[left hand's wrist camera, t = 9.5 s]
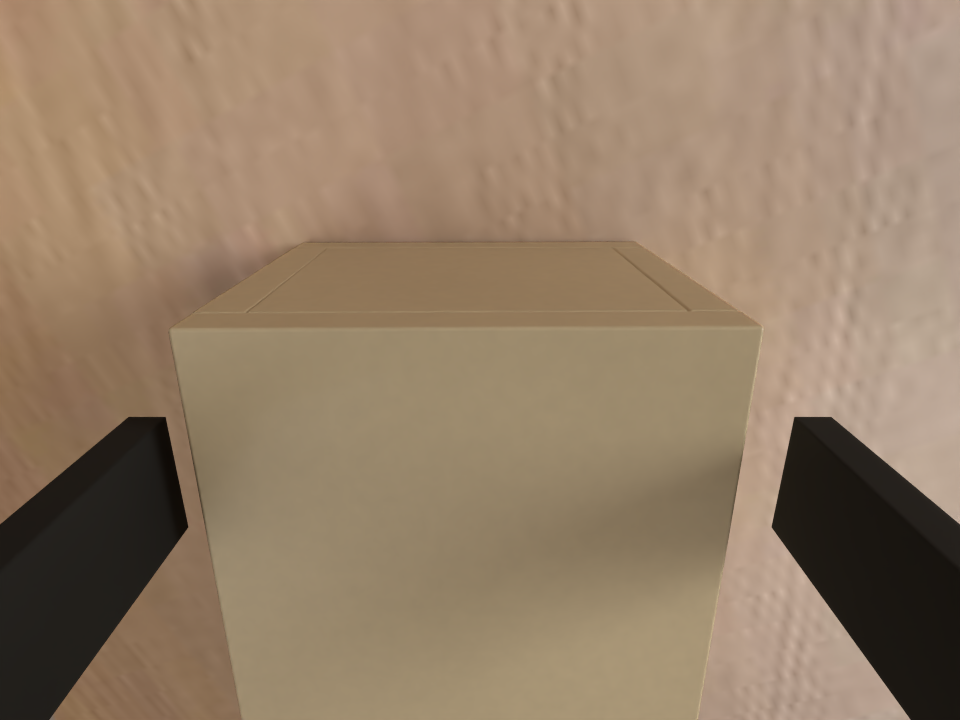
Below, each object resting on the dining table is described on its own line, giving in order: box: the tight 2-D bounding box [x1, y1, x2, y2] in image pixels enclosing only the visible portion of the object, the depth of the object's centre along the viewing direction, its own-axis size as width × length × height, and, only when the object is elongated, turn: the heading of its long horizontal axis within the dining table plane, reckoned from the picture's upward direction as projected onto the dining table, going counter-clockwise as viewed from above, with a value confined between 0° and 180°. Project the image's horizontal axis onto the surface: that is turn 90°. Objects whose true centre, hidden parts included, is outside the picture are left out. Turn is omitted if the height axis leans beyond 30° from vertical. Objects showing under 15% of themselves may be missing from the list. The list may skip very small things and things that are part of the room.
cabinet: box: [169, 242, 764, 720], centre depth 18 cm, size 16×11×9 cm, turn 0°
